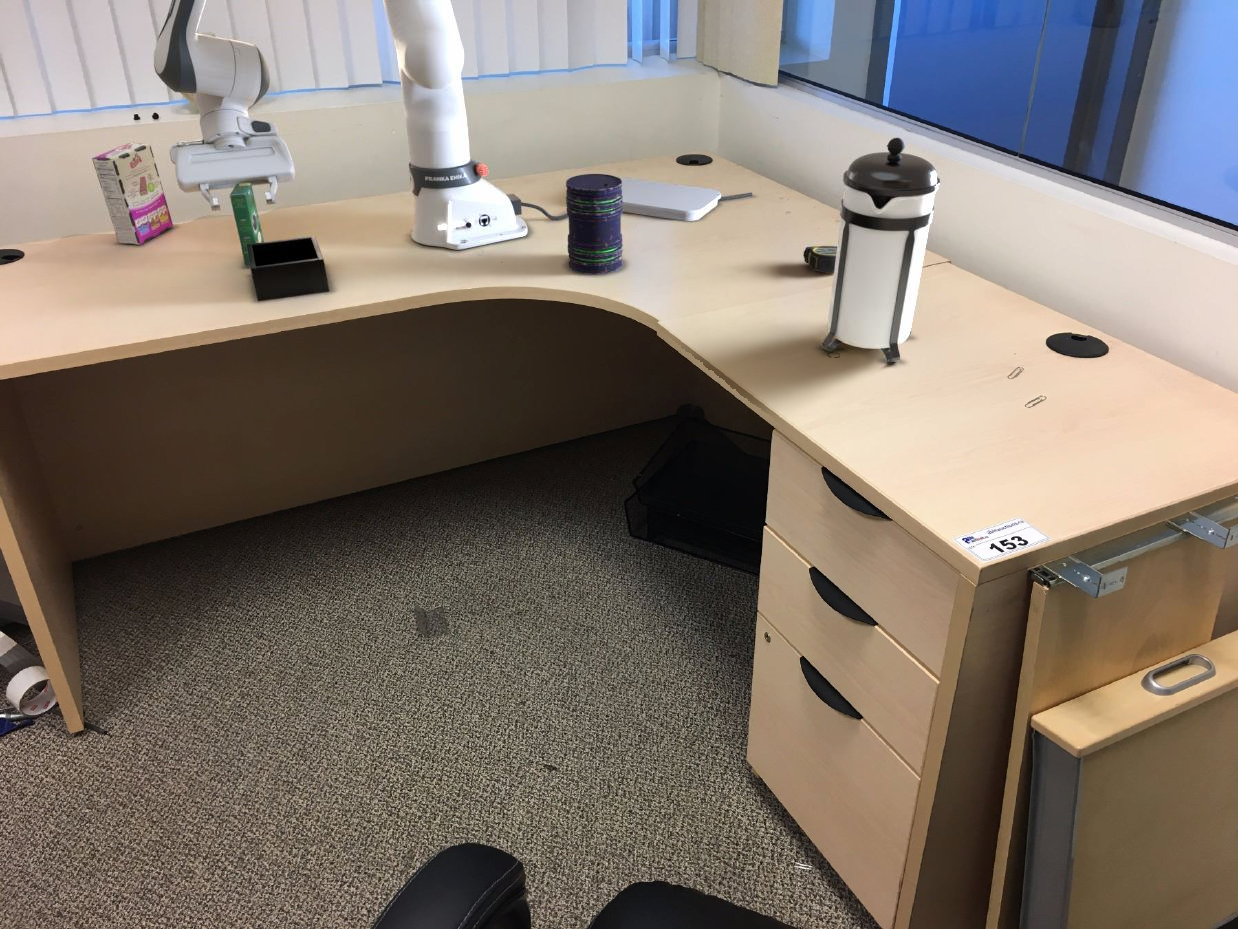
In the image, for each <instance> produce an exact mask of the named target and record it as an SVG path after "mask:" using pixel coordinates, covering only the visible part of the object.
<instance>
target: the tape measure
mask: <svg viewBox="0 0 1238 929" xmlns="http://www.w3.org/2000/svg"><path fill="white" fill-rule="evenodd" d="M837 246H838V245H837ZM837 246H836V245H819V246H818V245H817V246H815V245H814V246H806V247H805V249H804V250H803V259H804V262H805V264H807V265H808V267H809V269H811V270H813V271H815V272H821V273H825V274H834V269H835V261H836V254H837Z"/></svg>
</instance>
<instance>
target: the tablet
mask: <svg viewBox="0 0 1238 929" xmlns="http://www.w3.org/2000/svg"><path fill="white" fill-rule="evenodd" d="M619 178H620V179H621V180H622V187H621V189H622V196H623V203H622V208H623V210H622V213H630V214H636V215H643V216H651V217H656V218H663V219H669V220H670V219H671V220H677V221H684V222H693V221H694V222H695V221H697V220H700V219H701V218H702V217H704V216H705V215H706V214H707V213H709V212H711V210H713V209H714V208H715V207H717V206H718V202H719V201H718V199H720V198H721V197H722V191H720V190H717V189H714V188H706V187H699V186H691V185H684V184H677V183H668V182H662V181H653V180H646V179H639V178H630V177H619Z"/></svg>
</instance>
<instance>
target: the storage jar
mask: <svg viewBox="0 0 1238 929" xmlns="http://www.w3.org/2000/svg"><path fill="white" fill-rule="evenodd" d="M620 178H621V177H618V176H615V175H613V174H612V175H611V174H604V173H586V174H585V173H584V174H579V175H578V174H577V175H574V176H570V177H568V179H566V181H565V187H566V190H565V194H566V196H565V205H566V210H565V211H566V214H567V215H568V216H569V217H568V235H567V253H568V254H567V255H568V268H569V269H570V270H572V271H573V272H576V273H579V274H583V275H591V276H592V275H594V276H595V275H597V276H598V275H606V274H612V273H614V272H617V271H620V269H621V268H622V267H623V260H622V258H623V250H624V247H623V245H624V244H623V241H624V240H623V233H622V214H623V212H622V210H623V208H622V203H623V196H622V189H621V187H622V180H621V179H620Z"/></svg>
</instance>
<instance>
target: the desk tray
mask: <svg viewBox="0 0 1238 929" xmlns="http://www.w3.org/2000/svg"><path fill="white" fill-rule="evenodd" d="M246 246H247V252H248V257H249V263H250V267H249V268H250V272H251V277H252V281H253V286H254V291H255V295H256V300H257V302H263V301H271V300H276V299H277V300H278V299H284V298H292V297H293V298H294V297H300V296H306V295H313V294H320V293H328V292H330V288H329V280H328V276H327V269H326V264H325V258H324V256H323V254H322V251H321V248H320V246H319V243H318V240H317V237H316V236H315V235H312V236H304V237H296V238H288V239H279V240H270V241H264V242H261V243H253V244H246Z"/></svg>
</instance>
